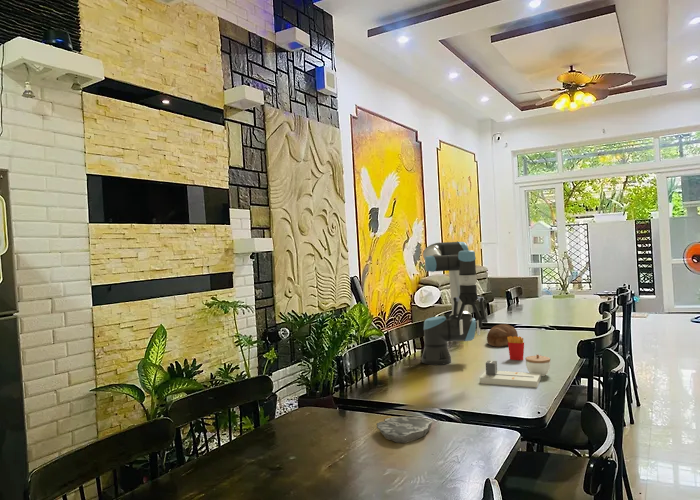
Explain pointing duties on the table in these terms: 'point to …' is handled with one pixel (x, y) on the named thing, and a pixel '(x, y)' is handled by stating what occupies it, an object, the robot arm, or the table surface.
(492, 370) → the fader tab
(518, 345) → the french fries
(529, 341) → the table surface
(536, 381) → the console
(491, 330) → the bread
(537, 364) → the lidded jar
